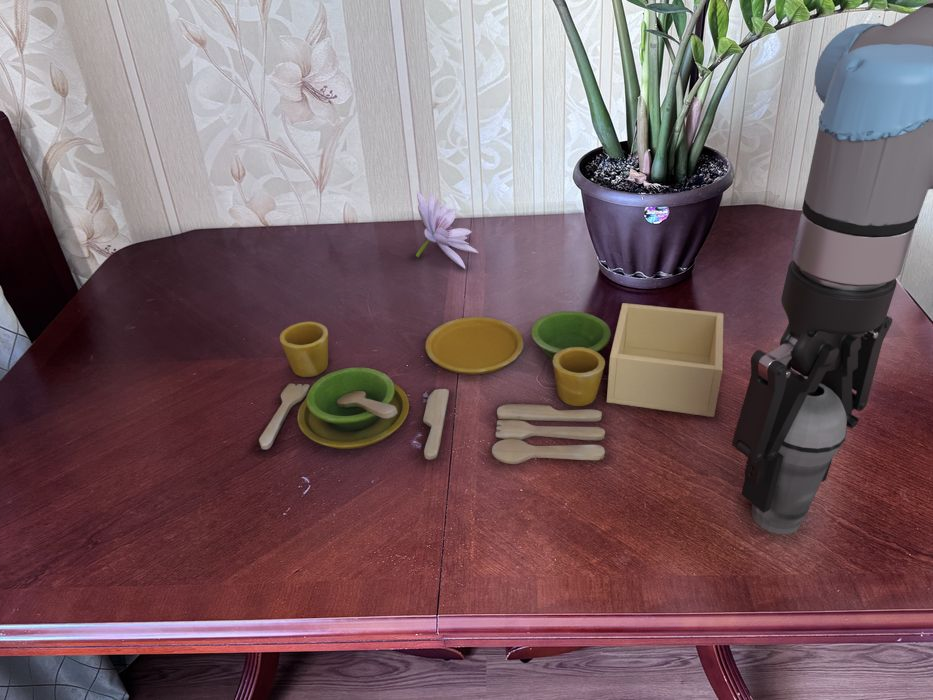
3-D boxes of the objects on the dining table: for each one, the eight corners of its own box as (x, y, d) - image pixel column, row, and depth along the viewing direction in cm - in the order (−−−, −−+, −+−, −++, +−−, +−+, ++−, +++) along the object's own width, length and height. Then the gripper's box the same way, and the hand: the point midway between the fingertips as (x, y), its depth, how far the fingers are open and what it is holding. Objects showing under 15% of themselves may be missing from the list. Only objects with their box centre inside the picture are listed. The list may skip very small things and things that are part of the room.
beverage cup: (818, 553, 66) (878, 376, 55) (734, 536, 69) (775, 361, 57) (815, 497, 72) (868, 326, 61) (737, 483, 74) (775, 315, 63)
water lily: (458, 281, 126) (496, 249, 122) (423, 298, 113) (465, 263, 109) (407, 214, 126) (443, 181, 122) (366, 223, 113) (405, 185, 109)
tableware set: (243, 454, 82) (230, 410, 78) (314, 322, 104) (306, 283, 101) (619, 469, 77) (623, 423, 73) (606, 327, 99) (609, 286, 96)
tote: (715, 357, 92) (723, 313, 89) (713, 417, 83) (722, 370, 79) (618, 346, 96) (622, 302, 92) (606, 402, 86) (609, 356, 82)
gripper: (884, 219, 62) (822, 428, 75) (709, 282, 54) (675, 501, 67) (972, 253, 56) (889, 473, 69) (790, 327, 49) (736, 557, 62)
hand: (783, 486), depth 68 cm, fingers closed on beverage cup, 6 cm apart
